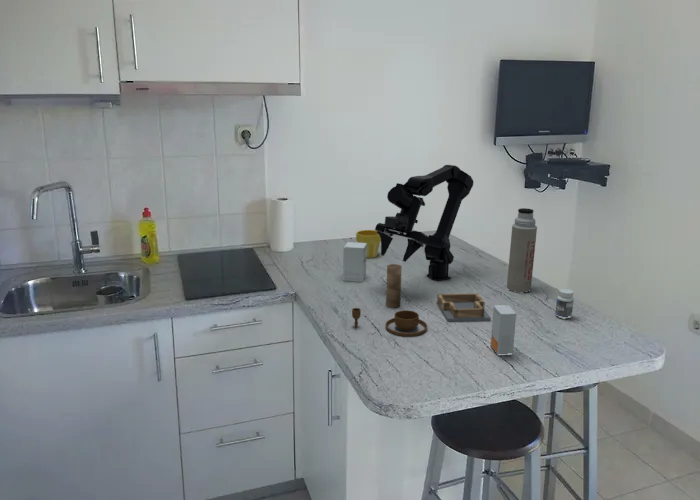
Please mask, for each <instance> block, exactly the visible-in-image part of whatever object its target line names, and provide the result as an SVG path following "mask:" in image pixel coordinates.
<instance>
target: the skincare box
mask: <svg viewBox="0 0 700 500" xmlns="http://www.w3.org/2000/svg"><path fill="white" fill-rule="evenodd" d="M516 320H517V313H516V312H515V311H514V309H513V308H512V307H511V306H510V305H508V304H507V305H505V304H502V305H498V304H497V305H493V311H492V320H491V321H492V323H491V334H490V335H491V336H490V347H491V346H492V347H491V349H492V348H493V349H494V350H495V351H496V353H497V354H508V353H513V354H514V342H515V333H516ZM493 349H492V350H493ZM494 350H493V351H494ZM496 353H495V354H496Z"/></svg>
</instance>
